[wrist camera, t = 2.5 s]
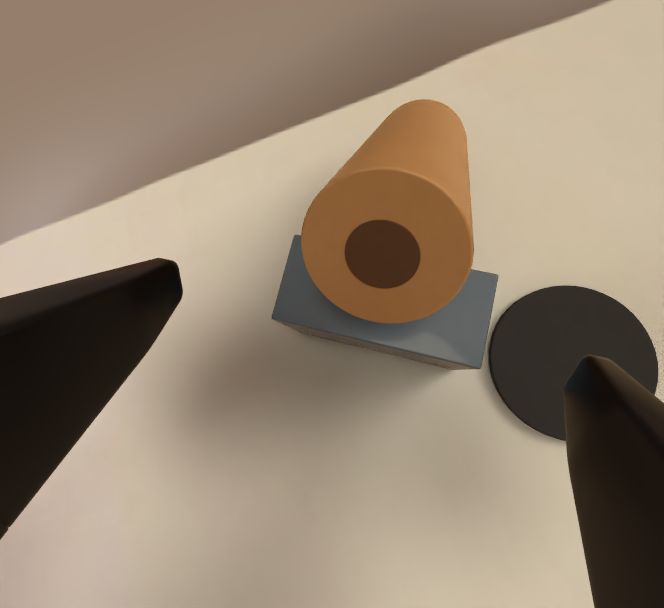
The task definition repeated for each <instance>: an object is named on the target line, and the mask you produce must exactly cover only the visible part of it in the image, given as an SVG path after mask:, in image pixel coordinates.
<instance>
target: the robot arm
mask: <svg viewBox="0 0 664 608" xmlns="http://www.w3.org/2000/svg"><path fill="white" fill-rule="evenodd" d="M182 294H183V289H182V284H181V278H180V273H179V268H178V265H177V264H176V263H175V262H174V261H171V260H167V259H162V258H156V259H152V260H148V261H144V262H140V263H136V264H132V265H128V266H124V267H121V268H117V269H113V270H109V271H105V272H101V273H97V274H93V275H89V276H85V277H81V278H77V279H73V280H70V281H66V282H62V283H58V284H54V285H50V286H46V287H42V288H38V289H34V290H30V291H26V292H22V293H19V294H15V295H11V296H7V297H3V298H0V539H1V538H2V537H3V536H4V534H5V533H6V532H7V530H8V527H10V526H11V525H12V524H13V522H14V521H15V520H16V519H17V517H18V516H19V515H20V514H21V512H22V511H23V510H24V508H25V507H26V506H27V505H28V503H29V502H30V501H31V500H32V498H33V497H34V496H35V494H36V493H37V492H38V491H39V489H40V488H41V487H42V486H43V484H44V483H45V482H46V480H47V479H48V478H49V477H50V475H51V474H52V473H53V472H54V470H55V469H56V468H57V466H58V465H59V464H60V463H61V461H62V460H63V459H64V458H65V456H66V455H67V454H68V453H69V451H70V450H71V449H72V447H73V446H74V445H75V444H76V442H77V441H78V440H79V439H80V437H81V436H82V435H83V433H84V432H85V431H86V430H87V428H88V427H89V426H90V425H91V423H92V422H93V421H94V419H95V418H96V417H97V416H98V414H99V413H100V412H101V411H102V409H103V408H104V407H105V405H106V404H107V403H108V402H109V400H110V399H111V398H112V397H113V395H114V394H115V393H116V392H117V390H118V389H119V388H120V386H121V385H122V384H123V383H124V381H125V380H126V379H127V378H128V376H129V375H130V374H131V372H132V371H133V370H134V369H135V367H136V366H137V365H138V364H139V362H140V361H141V360H142V358H143V357H144V356H145V355H146V353H147V352H148V351H149V349H150V348H151V346H152V345H153V343H154V342H155V340H156V339H157V337H158V335H159V334H160V332H161V331H162V329H163V328H164V326H165V324H166V323H167V321H168V320H169V318H170V316H171V315H172V313H173V312H174V310H175V308H176V307H177V305H178V304H179V302H180V300H181V298H182ZM564 411H565V428H566V445H567V458H568V466H569V473H570V478H571V484H572V489H573V494H574V500H575V505H576V510H577V516H578V521H579V527H580V532H581V537H582V543H583V548H584V553H585V559H586V564H587V569H588V575H589V580H590V586H591V591H592V596H593V602H594V607H595V608H664V403H663V402H662V401H660V400H659V399H658V398H657V397H656V396H654V395H653V394H652V393H651V392H649V391H648V390H647V389H646V388H645V387H643V386H642V385H641V384H640V383H639V382H637V381H636V380H635V379H634V378H633V377H631V376H630V375H629V374H628V373H627V372H625V371H624V370H623V369H622V368H621V367H619V366H618V365H617V364H616V363H615V362H613V361H612V360H610V359H608V358H603V357H599V356H594V355H586V356H584V357H583V358H582V359H581V360H580V362H579V363H578V365H577V366H576V368H575V369H574V371H573V372H572V374H571V375H570V377H569V378H568V380H567V382H566V384H565V386H564Z"/></svg>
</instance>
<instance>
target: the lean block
mask: <svg viewBox="0 0 664 608" xmlns="http://www.w3.org/2000/svg"><path fill="white" fill-rule="evenodd" d="M497 281H498V275H497V274H492V273H487V272H482V271H477V270H472V269H471V270H470V273H469V275H468V277H467V280H466V282H465V283H464V285H463V287H462V288H461V290H460V291H459V292H458V294H457V295H456V296H455V297H454V298H453V299H452V300H451V301H450V302H449V303H448V304H447V305H445V306H444V307H443V308H441V309H440V310H438V311H437V312H435V313H433V314H431V315H429V316H427V317H424V318H421V319H419V320H415V321H411V322H405V323H378V322H373V321H368V320H365V319H361V318H359V317H356V316H354V315H351V314H349V313H347V312H346V311H344V310H342V309H341V308H339V307H337V306H336V305H335V304H333V303H332V302H331V301H330V300H329V299H327V298H326V297H325V296H324V295H323V293H322V292H321V291H320V290H319V289H318V287H317V286H316V285H315V283H314V282H313V280H312V279H311V277H310V275H309V273H308V271H307V268H306V266H305V262H304V259H303V254H302V248H301V236H300V235H294V238H293V242H292V245H291V249H290V252H289V256H288V260H287V263H286V267H285V271H284V274H283V278H282V281H281V285H280V289H279V292H278V296H277V300H276V303H275V307H274V311H273V314H272V319H273V320H275V321H277V322H280V323H282V324H284V325H286V326H288V327H290V328H292V329H294V330H297V331H299V332H302V333H306V334H310V335H314V336H318V337H322V338H326V339H330V340H334V341H338V342H343V343H347V344H351V345H355V346H359V347H363V348H367V349H371V350H375V351H379V352H383V353H388V354H392V355H396V356H400V357H404V358H408V359H412V360H416V361H420V362H424V363H428V364H433V365H437V366H441V367H445V368H449V369H453V370H461V369H480V368H481V365H482V359H483V354H484V349H485V344H486V338H487V333H488V328H489V323H490V317H491V312H492V307H493V302H494V297H495V291H496V286H497Z"/></svg>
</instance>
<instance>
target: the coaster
mask: <svg viewBox="0 0 664 608" xmlns="http://www.w3.org/2000/svg"><path fill="white" fill-rule="evenodd" d="M586 355H594V356H599V357H603V358H608V359H610V360H612V361H613V362H615V363H616V364H617V365H618V366H619V367H621V368H622V369H623V370H624V371H625V372H627V373H628V374H629V375H630V376H631V377H633V378H634V379H635V380H636V381H637V382H639V383H640V384H641V385H642V386H643V387H645V388H646V389H647V390H648V391H649V392H651V393H652V394H653V395H654V394H655V392H656V387H657V382H658V362H657V357H656V352H655V349H654V346H653V343H652V341H651V339H650V337H649V335H648V333H647V331H646V329H645V328H644V327H643V325H642V324H641V322H640V321H639V320H638V319H637V318H636V317H635V316H634V314H633V313H632V312H630V311H629V310H628V309H627V308H626V307H625V306H624V305H622V304H621V303H619V302H618V301H616V300H615V299H613V298H611V297H609V296H607V295H605V294H603V293H600V292H598V291H595V290H592V289H588V288H584V287H577V286H554V287H548V288H544V289H541V290H538V291H535V292H532V293H530V294H528V295H527V296H525V297H523V298H521V299H520V300H518V301H517V302H515V303H514V304H513V305H512V306H511V307H510V308H509V309H507V311H506V312H505V313H504V314H503V316H502V317H501V318H500V320H499V322H498V323H497V325H496V327H495V330H494V332H493V335H492V338H491V342H490V349H489V364H490V371H491V375H492V378H493V382H494V384H495V386H496V389H497V391H498V393H499V394H500V396H501V398H502V400H503V401H504V402H505V404H506V405H507V406H508V408H509V409H510V410H511V411H512V412H513V413H514V414H515V415H516V416H517V417H518V418H519V419H521V420H522V421H523V422H524V423H526V424H527V425H529V426H530V427H532V428H533V429H535V430H537V431H539V432H541V433H543V434H545V435H548V436H551V437H554V438H557V439H561V440H566V428H565V411H564V386H565V384H566V382H567V380H568V378H569V377H570V375H571V374H572V372H573V371H574V369H575V368H576V366H577V365H578V363H579V362H580V360H581V359H582V358H583V357H584V356H586Z"/></svg>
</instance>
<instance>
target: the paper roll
mask: <svg viewBox="0 0 664 608" xmlns="http://www.w3.org/2000/svg"><path fill="white" fill-rule="evenodd" d="M301 248H302V254H303V259H304V262H305V266H306V268H307V271H308V273H309V275H310V277H311V279H312V280H313V282H314V283H315V285H316V286H317V287H318V289H319V290H320V291H321V292H322V293H323V295H324V296H325V297H326V298H327V299H329V300H330V301H331V302H332V303H333V304H335V305H336V306H337V307H339V308H341V309H342V310H344V311H346V312H347V313H349V314H351V315H354V316H356V317H359V318H361V319H365V320H368V321H373V322H378V323H405V322H411V321H415V320H419V319H421V318H424V317H427V316H429V315H431V314H433V313H435V312H437V311H438V310H440V309H441V308H443V307H444V306H445V305H447V304H448V303H449V302H450V301H451V300H452V299H453V298H454V297H455V296H456V295H457V294H458V292H459V291H460V290H461V288H462V287H463V285H464V283H465V282H466V280H467V277H468V275H469V273H470V270H471V266H472V262H473V254H474V244H473V228H472V212H471V197H470V182H469V167H468V152H467V137H466V132H465V129H464V126H463V124H462V122H461V120H460V118H459V117H458V116H457V114H456V113H455V112H454V111H453V110H452V109H450V108H449V107H448V106H446V105H444V104H442V103H440V102H437V101H433V100H424V99H423V100H415V101H411V102H408V103H406V104H404V105H402V106H400V107H398V108H397V109H396V110H394V111H393V112H392V113H391V114H390V115H389V116H388V117H387V118H386V119H385V120H384V121H383V123H382V124H381V125H380V126H379V127H378V128H377V129H376V130H375V131H374V133H373V134H372V135H371V136H370V137H369V138H368V139H367V140H366V141H365V143H364V144H363V145H362V146H361V147H360V148H359V149H358V150H357V151H356V153H355V154H354V155H353V156H352V157H351V158H350V159H349V160H348V161H347V163H346V164H345V165H344V166H343V167H342V168H341V169H340V170H339V171H338V172H337V174H336V175H335V176H334V177H333V178H332V179H331V180H330V181H329V182H328V184H327V185H326V186H325V187H324V188H323V189H322V190H321V191H320V193H319V194H318V195H317V196H316V198H315V199H314V200H313V202H312V203H311V205H310V207H309V209H308V211H307V213H306V216H305V218H304V222H303V226H302V233H301Z"/></svg>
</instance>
